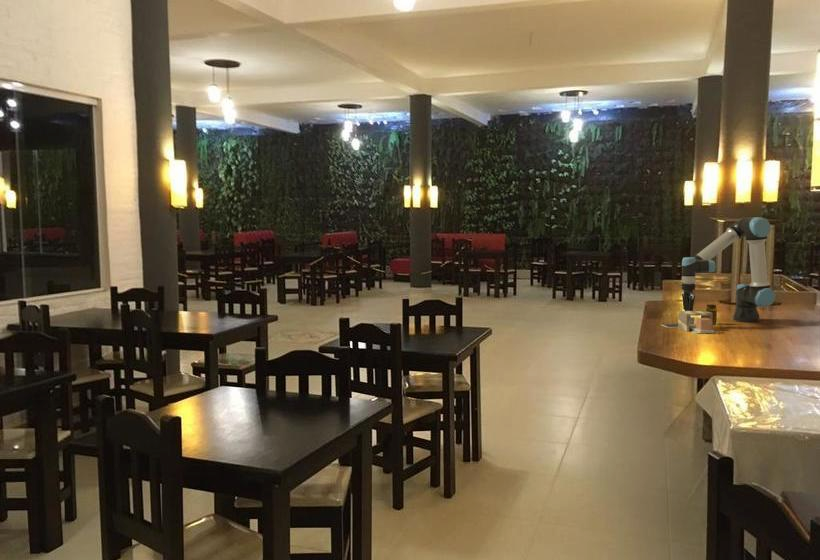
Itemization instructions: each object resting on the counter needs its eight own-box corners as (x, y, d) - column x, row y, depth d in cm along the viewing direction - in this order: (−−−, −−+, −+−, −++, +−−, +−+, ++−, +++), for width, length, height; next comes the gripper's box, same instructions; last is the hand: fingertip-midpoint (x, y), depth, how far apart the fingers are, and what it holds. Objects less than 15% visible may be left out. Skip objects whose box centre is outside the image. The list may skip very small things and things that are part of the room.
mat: (709, 331, 398) (709, 330, 398) (715, 333, 391) (715, 332, 391) (691, 331, 398) (691, 331, 398) (696, 333, 391) (696, 333, 391)
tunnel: (703, 327, 411) (703, 310, 410) (712, 330, 400) (712, 313, 399) (678, 328, 410) (678, 311, 409) (686, 331, 399) (686, 313, 398)
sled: (694, 325, 414) (694, 313, 414) (714, 332, 390) (714, 319, 389) (681, 326, 414) (681, 314, 413) (700, 332, 389) (700, 320, 389)
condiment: (719, 324, 421) (719, 304, 420) (711, 325, 417) (711, 306, 415) (708, 322, 427) (709, 303, 426) (700, 324, 423) (700, 304, 422)
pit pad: (688, 324, 423) (688, 323, 423) (696, 326, 413) (696, 326, 413) (661, 325, 423) (661, 324, 423) (667, 327, 413) (668, 327, 413)
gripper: (677, 282, 418) (677, 320, 420) (687, 284, 405) (686, 324, 407) (689, 282, 418) (689, 320, 421) (699, 284, 406) (698, 323, 408)
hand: (687, 322), depth 414 cm, fingers closed
